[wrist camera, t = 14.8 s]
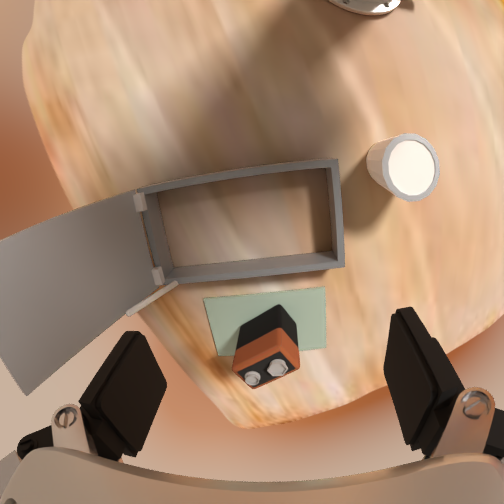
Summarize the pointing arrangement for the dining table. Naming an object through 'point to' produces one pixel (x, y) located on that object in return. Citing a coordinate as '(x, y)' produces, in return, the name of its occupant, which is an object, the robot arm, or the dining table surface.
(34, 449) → the robot arm
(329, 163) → the case
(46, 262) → the case lid
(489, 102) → the dining table surface
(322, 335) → the rubber mat
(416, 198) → the shot glass
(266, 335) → the battery
